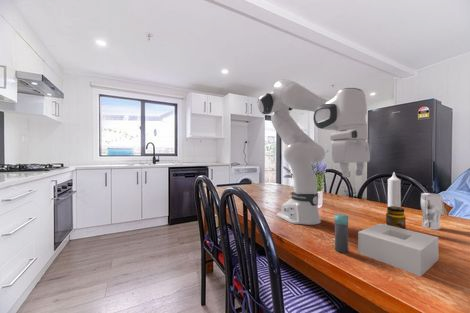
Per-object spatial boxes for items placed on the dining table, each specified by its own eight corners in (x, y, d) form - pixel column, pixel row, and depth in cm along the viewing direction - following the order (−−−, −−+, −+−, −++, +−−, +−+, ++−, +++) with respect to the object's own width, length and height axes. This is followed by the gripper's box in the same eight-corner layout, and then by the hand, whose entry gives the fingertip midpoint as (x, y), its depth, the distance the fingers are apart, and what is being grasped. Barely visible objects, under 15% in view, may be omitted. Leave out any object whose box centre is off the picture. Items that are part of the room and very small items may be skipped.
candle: (408, 231, 87) (408, 172, 87) (389, 230, 89) (389, 172, 88) (398, 225, 94) (398, 171, 94) (381, 224, 95) (381, 171, 95)
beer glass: (420, 227, 91) (420, 194, 91) (420, 223, 96) (420, 192, 96) (442, 231, 86) (442, 196, 86) (441, 227, 92) (441, 194, 91)
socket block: (358, 252, 68) (358, 232, 68) (379, 241, 77) (379, 223, 77) (420, 276, 55) (420, 250, 55) (438, 259, 63) (438, 237, 63)
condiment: (410, 242, 76) (409, 210, 76) (382, 239, 79) (382, 208, 79) (402, 235, 83) (402, 206, 83) (377, 232, 86) (377, 204, 86)
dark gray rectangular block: (332, 249, 70) (332, 215, 70) (338, 246, 73) (338, 213, 73) (344, 254, 67) (344, 218, 67) (350, 251, 69) (350, 216, 69)
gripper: (355, 138, 78) (356, 174, 77) (327, 134, 66) (328, 177, 65) (374, 136, 73) (375, 175, 72) (347, 132, 61) (348, 178, 60)
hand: (353, 176), depth 69 cm, fingers open, 8 cm apart
